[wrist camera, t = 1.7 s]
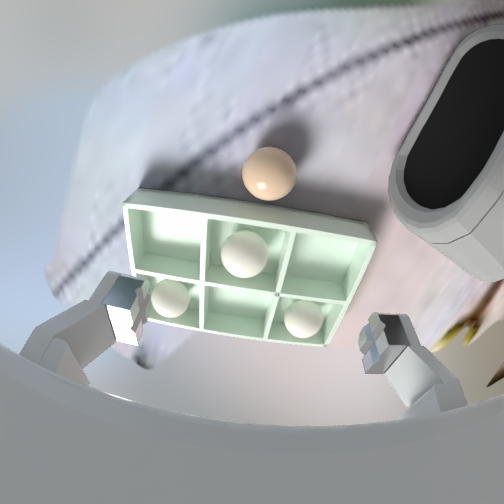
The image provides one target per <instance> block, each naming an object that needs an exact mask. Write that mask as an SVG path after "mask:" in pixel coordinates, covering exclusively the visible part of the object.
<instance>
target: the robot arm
mask: <svg viewBox="0 0 504 504" xmlns="http://www.w3.org/2000/svg"><path fill="white" fill-rule="evenodd" d="M149 288H150V286H149V280H147V279H144V278H140V277H136V276H131V275H127V274H123V273H122V274H121V273H117V272H113V271H109V272H107V273H106V275H105V276H104V278H103V279H102V281H101V282H100V284H99V285H98V287H97V288H96V290H95V291H94V293H93V294H92V296H91V298H90V299H89V301H87V300H84V301H82V302H80V303H79V304H77V305H75V306H73V307H71V308H69V309H68V310H66V311H64V312H62V313H60V314H59V315H57V316H55V317H53V318H51V319H50V320H48V321H46V322H44V323H42V324H41V325H39V326H37V327H36V328H35V329H34V330H33V332H32V334H31V335H30V337H29V339H28V340H27V342H26V344H25V345H24V347H23V349H22V351H21V352H20V354H17V353H15V352H13V351H11V350H10V349H8V348H7V347H5V346H3V345H1V344H0V504H504V394H501V395H498V396H496V397H493V398H490V399H487V400H484V401H481V402H478V403H474V404H471V405H468V404H467V401H466V398H465V395H464V392H463V389H462V386H461V384H460V381H459V380H458V379H457V378H456V377H455V376H454V375H453V374H452V373H451V372H450V371H449V370H448V369H447V368H446V367H445V366H444V365H443V364H442V363H441V362H440V361H439V360H438V359H437V358H436V357H435V356H434V355H433V354H432V353H431V352H430V351H429V350H428V349H427V348H425V347H424V346H421V344H420V342H419V339H418V337H417V335H416V332H415V330H414V327H413V325H412V323H411V320H410V318H409V317H408V316H407V315H406V314H390V313H378V312H374V313H373V314H371V316H370V317H369V319H368V320H369V324H367V325H366V326H364V327H363V329H362V330H361V332H360V335H359V349H360V351H361V352H362V353H363V354H364V357H363V359H362V362H363V365H364V370H365V374H384V377H385V378H386V379H387V381H388V382H389V383H390V385H391V386H392V387H393V389H394V390H395V392H396V393H397V394H398V396H399V397H400V398H401V399H402V401H403V402H404V404H405V405H406V406H407V409H406V410H405V411H404V412H402V413H401V414H400V415H399V420H394V421H387V422H378V423H369V424H355V425H340V426H339V425H338V426H288V425H269V424H268V425H267V424H256V423H245V422H236V421H229V420H220V419H214V418H208V417H202V416H196V415H191V414H185V413H181V412H176V411H171V410H167V409H163V408H159V407H154V406H151V405H147V404H143V403H139V402H136V401H132V400H129V399H125V398H122V397H119V396H116V395H113V394H110V393H107V392H104V391H101V390H98V389H95V388H93V387H90V386H89V384H90V382H89V379H88V378H87V376H86V375H85V373H84V372H83V370H82V369H83V368H84V367H85V366H87V365H88V364H89V363H90V362H92V361H93V360H94V359H95V358H97V357H98V356H99V355H100V354H101V353H103V352H104V351H105V350H107V349H108V348H109V347H110V346H111V345H113V344H114V343H115V342H116V340H117V341H121V342H125V343H129V344H133V345H138V343H139V341H140V338H141V336H142V333H143V327H142V325H143V324H145V323H146V322H147V321H148V318H149V316H150V311H151V297H150V295H149V294H148V291H149Z"/></svg>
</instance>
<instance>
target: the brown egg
mask: <svg viewBox="0 0 504 504" xmlns="http://www.w3.org/2000/svg"><path fill="white" fill-rule="evenodd" d="M242 178H243V182H244V185H245V187H246V188H247V190H248V191H249V192H250V193H251V194H252V195H254V196H255V197H257V198H259V199H262V200H268V201H272V200H277V199H280V198H282V197H284V196H286V195H287V194H288V193H289V192H290V191H291V190H292V188H293V187H294V184H295V182H296V178H297V170H296V166H295V163H294V161H293V160H292V158H291V157H290V156H289V155H288V154H287V153H286V152H285V151H283V150H281V149H279V148H275V147H263V148H260V149H257V150H255V151H254V152H252V153H251V154H250V155H249V156H248V157H247V159H246V160H245V162H244V165H243V169H242Z"/></svg>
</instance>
